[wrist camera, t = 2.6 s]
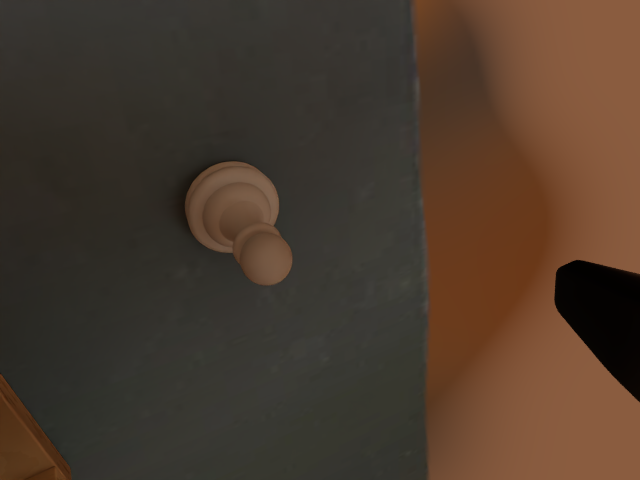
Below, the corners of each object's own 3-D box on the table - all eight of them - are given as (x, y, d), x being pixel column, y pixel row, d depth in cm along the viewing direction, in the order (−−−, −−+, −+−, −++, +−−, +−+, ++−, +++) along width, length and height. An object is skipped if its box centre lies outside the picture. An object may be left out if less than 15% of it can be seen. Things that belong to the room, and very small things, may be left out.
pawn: (221, 258, 17) (264, 338, 14) (162, 201, 16) (195, 277, 13) (288, 201, 17) (346, 268, 14) (235, 139, 16) (287, 199, 13)
